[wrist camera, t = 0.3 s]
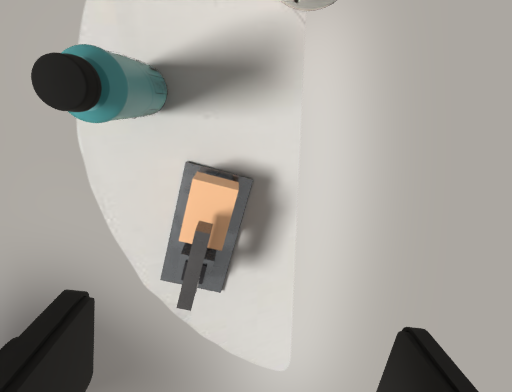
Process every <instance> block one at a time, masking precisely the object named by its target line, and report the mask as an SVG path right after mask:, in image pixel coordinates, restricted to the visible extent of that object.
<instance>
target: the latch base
mask: <svg viewBox="0 0 512 392" xmlns="http://www.w3.org/2000/svg"><path fill="white" fill-rule="evenodd" d="M197 172H201V173H205V174H209V175H212V176H216V177H220V178H224V179H228V180H232V181H235V182H239V191H238V194H237V198H236V201H235V205H234V209H233V212H232V216H231V219H230V223H229V227H228V230H227V234H226V238H225V241H224V245H223V248H222V251H220V250H216V249H211V248H207V250H206V254H205V258H204V261H203V265H202V269H201V273H200V279H199V283H198V287H197V288H201V289H206V290H210V291H215V292H220V293H221V290H222V286H223V283H224V279H225V276H226V272H227V269H228V265H229V262H230V258H231V255H232V251H233V248H234V245H235V241H236V238H237V234H238V231H239V227H240V224H241V220H242V217H243V213H244V210H245V206H246V203H247V199H248V196H249V192H250V189H251V186H252V182H253V179H250V178H247V177H243V176H239V175H235V174H231V173H228V172H224V171H220V170H216V169H213V168H209V167H205V166H201V165H197V164H194V163H190V162H186V163H185V168H184V172H183V177H182V182H181V186H180V191H179V196H178V200H177V205H176V210H175V214H174V219H173V224H172V228H171V233H170V238H169V242H168V247H167V252H166V256H165V261H164V265H163V270H162V275H161V279H160V280H163V281H168V282H172V283H177V284H183V279H184V275H185V271H186V267H187V263H188V259H189V255H190V250H191V246H192V244H190V243H185V242H181V241H179V237H180V232H181V228H182V223H183V219H184V215H185V210H186V206H187V201H188V197H189V192H190V188H191V184H192V179H193V177H194V176H195V174H196V173H197Z"/></svg>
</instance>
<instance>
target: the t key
mask: <svg viewBox="0 0 512 392" xmlns="http://www.w3.org/2000/svg"><path fill="white" fill-rule="evenodd" d="M212 226H213V224H211V223H207V222H203V221H199V222H198V225H197V227H196V230H195V234H194V238H193V242H192V246H191V250H190V255H189V259H188V263H187V267H186V271H185V275H184V279H183V284H182V288H181V292H180V296H179V300H178V304H177V308H180V309H185V310H190V311H191V308H192V304H193V300H194V296H195V293H196V291H197V287H198V283H199V279H200V273H201V269H202V265H203V261H204V258H205V254H206V250H207V246H208V242H209V238H210V234H211V230H212Z"/></svg>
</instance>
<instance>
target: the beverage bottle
mask: <svg viewBox="0 0 512 392" xmlns="http://www.w3.org/2000/svg"><path fill="white" fill-rule="evenodd" d="M133 59H134V58H133ZM144 63H145V62H144ZM31 79H32V84H33V87H34V90H35V92H36V93H37V95H38V96H39V98H40V99H41V100H42V101H43V102H45V103H46V104H47V105H49V106H51V107H52V108H55V109H57V110H61V111H68V112H69V113H71V114H72V115H73V116H74V117H76V118H78V119H80V120H83V121H86V122H90V123H103V122H107V121H111V120H118V119H126V118H134V117H135V118H137V117H139V116H143V117H145V115H149V116H150V114H155V112H156V113H158V112H157V111H159V110H160V109H161V108H162V106H163V105H164V103H165V101H166V97H167V94H168V90H167V88H166V85H167V84H166V83H165V82H166V81H164V78H163V77H162V76H161V74H160V73H159V71H157V70H156V68H155V69H154V68H153V67H151V66H150V64H149V65H146V64H143V63H142V62H139V61H138V60H137V59H136V61H135V60H132V59H129V58H127V57H126V56H121V55H118V54H114V53H111V52H109V51H105V50H103V49H101V48H99V47H96V46H93V45H86V44H81V45H75V46H72V47H69V48H67V49H66V50H64V51H63V52H62V53H49V54H45V55H43V56H41V57H40V58H39V59H38V60H37V61H36V62H35V64H34V66H33V68H32V73H31ZM146 117H147V116H146Z"/></svg>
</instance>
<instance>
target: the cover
mask: <svg viewBox="0 0 512 392" xmlns="http://www.w3.org/2000/svg"><path fill="white" fill-rule="evenodd" d="M238 191H239V182H235V181H232V180H228V179H224V178H220V177H216V176H212V175H209V174H205V173H201V172H197V173H196V174H195V176H194V177H193V179H192V184H191V188H190V192H189V197H188V201H187V206H186V210H185V215H184V219H183V223H182V228H181V232H180V237H179V241H181V242H185V243H190V244H192V242H193V238H194V234H195V230H196V227H197V225H198V222H199V221H203V222H207V223H211V224H213V226H212V230H211V234H210V238H209V242H208V246H207V248H211V249H216V250H220V251H222V248H223V245H224V241H225V238H226V234H227V230H228V227H229V223H230V219H231V216H232V212H233V209H234V205H235V201H236V198H237V194H238Z"/></svg>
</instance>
